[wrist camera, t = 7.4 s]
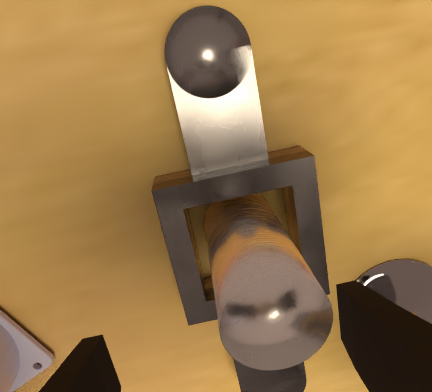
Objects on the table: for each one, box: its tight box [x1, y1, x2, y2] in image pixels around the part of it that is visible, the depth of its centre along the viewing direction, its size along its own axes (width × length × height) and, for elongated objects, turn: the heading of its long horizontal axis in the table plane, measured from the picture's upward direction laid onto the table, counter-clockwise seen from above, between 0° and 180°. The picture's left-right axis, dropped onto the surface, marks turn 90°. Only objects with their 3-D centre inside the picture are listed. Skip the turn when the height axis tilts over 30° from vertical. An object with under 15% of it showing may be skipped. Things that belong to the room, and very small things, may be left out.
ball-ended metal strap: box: [152, 6, 330, 392], centre depth 20 cm, size 23×8×2 cm, turn 11°
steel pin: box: [205, 193, 333, 370], centre depth 17 cm, size 4×4×9 cm
